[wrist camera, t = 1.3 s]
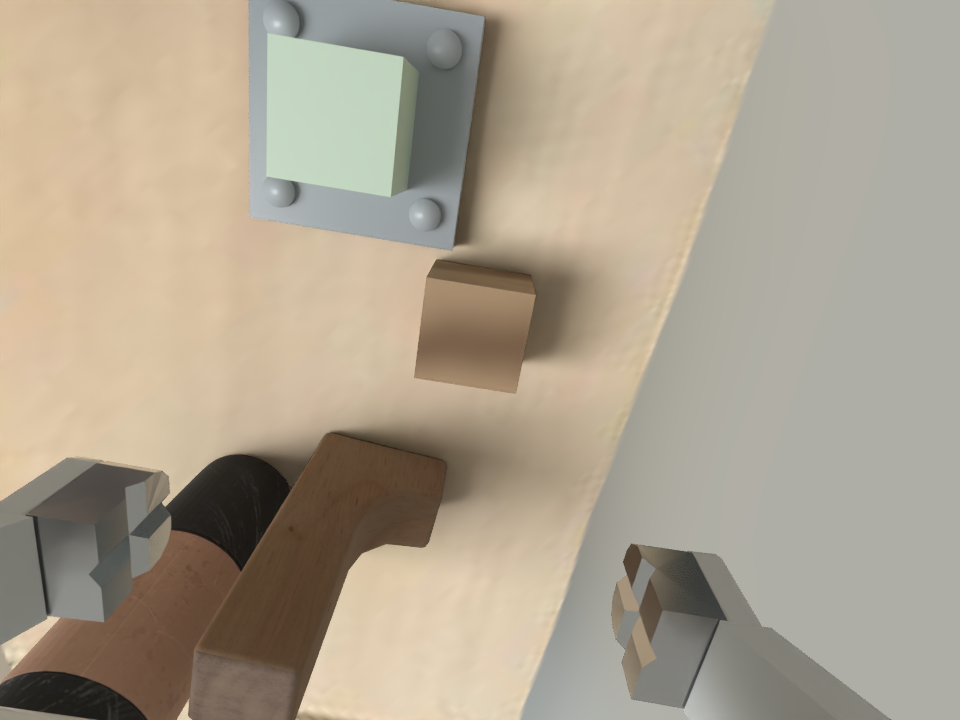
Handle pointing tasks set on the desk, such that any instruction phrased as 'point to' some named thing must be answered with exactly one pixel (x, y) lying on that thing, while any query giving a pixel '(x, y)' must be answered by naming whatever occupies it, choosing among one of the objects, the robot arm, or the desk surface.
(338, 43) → the base plate
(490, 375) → the walnut brick
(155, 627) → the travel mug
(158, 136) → the desk surface
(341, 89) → the green brick
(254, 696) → the wooden block
